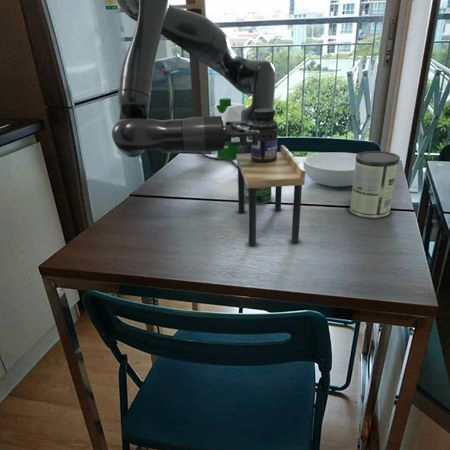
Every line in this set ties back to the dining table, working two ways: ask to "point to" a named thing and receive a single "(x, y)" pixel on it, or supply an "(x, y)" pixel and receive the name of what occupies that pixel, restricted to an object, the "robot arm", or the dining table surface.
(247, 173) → the shelf riser
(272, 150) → the pill bottle
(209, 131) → the robot arm
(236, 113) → the milk carton
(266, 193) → the canned tomato
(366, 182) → the coffee can
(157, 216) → the dining table surface
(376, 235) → the dining table surface
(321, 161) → the serving bowl
